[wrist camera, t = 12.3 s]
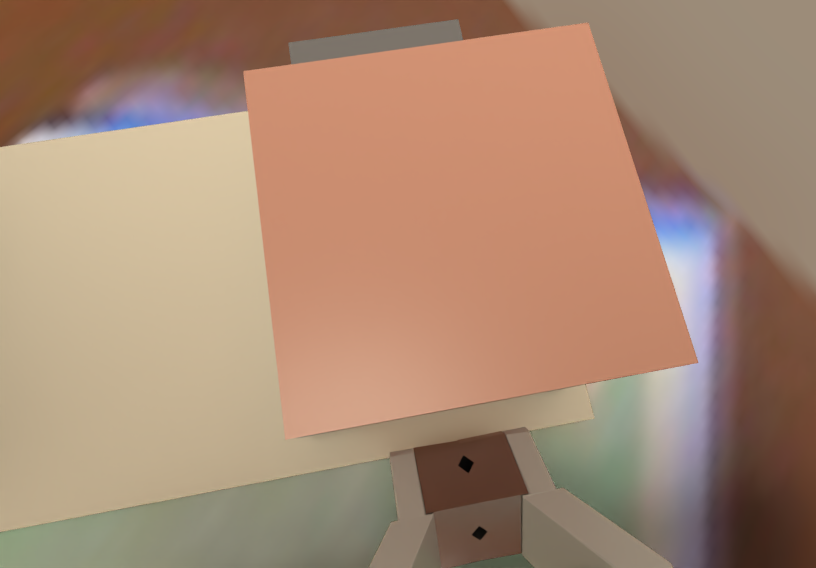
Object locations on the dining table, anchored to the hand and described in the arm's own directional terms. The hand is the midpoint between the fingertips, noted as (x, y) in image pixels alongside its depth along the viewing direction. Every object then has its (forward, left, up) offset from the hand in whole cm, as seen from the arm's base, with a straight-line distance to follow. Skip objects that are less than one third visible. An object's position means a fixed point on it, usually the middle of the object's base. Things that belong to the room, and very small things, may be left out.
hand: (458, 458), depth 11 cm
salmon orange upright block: (-2, +3, -4) cm, 5 cm away
